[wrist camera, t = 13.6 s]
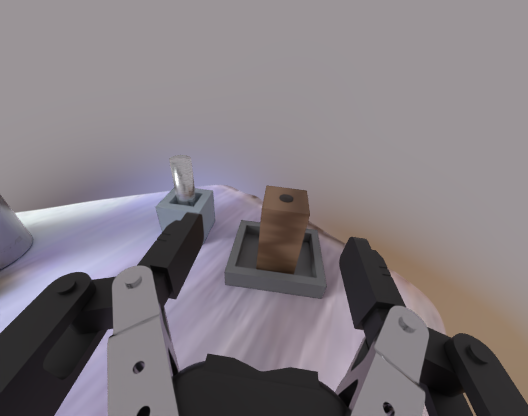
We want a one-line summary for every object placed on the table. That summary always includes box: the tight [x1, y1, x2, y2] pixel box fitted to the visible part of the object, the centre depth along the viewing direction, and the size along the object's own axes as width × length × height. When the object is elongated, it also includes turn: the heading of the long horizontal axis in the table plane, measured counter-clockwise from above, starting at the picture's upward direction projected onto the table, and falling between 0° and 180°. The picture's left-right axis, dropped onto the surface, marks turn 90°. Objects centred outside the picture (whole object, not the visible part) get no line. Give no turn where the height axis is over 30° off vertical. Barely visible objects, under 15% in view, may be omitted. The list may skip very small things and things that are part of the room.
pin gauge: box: [170, 155, 196, 207], centre depth 30 cm, size 3×3×12 cm
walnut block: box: [256, 186, 310, 275], centre depth 26 cm, size 5×5×10 cm
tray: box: [225, 220, 327, 299], centre depth 29 cm, size 12×10×2 cm
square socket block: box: [156, 187, 215, 245], centre depth 31 cm, size 6×6×6 cm
